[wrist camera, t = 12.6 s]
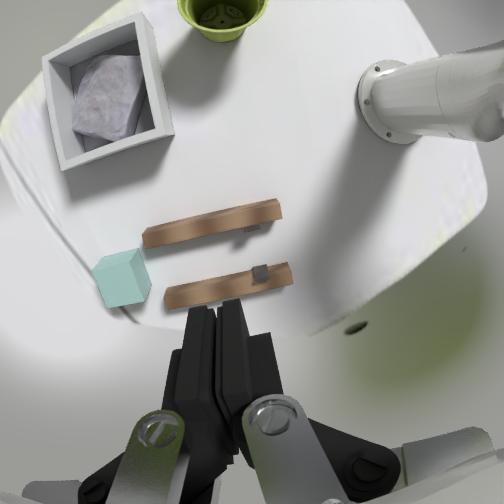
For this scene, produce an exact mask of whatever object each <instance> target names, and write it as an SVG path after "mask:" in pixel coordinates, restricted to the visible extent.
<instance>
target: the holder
mask: <svg viewBox="0 0 504 504" xmlns="http://www.w3.org/2000/svg"><path fill="white" fill-rule="evenodd" d="M136 39H138V45H139V50H140V56H141V62H142V67H143V72H144V77H145V82H146V88H147V92H148V97H149V102H150V107H151V111H152V116H153V121H154V125H155V129H152V130H149V131H146V132H143V133H140V134H137V135H133V136H130V137H127V138H125V139H122V140H119V141H116V142H113V143H110V144H108V145H105V146H102V147H99V148H97V149H94V150H92V151H89V152H87V153H85V149H84V145H83V141H82V136H81V133H78V132H76V131H74V130H73V129H72V118H73V113H74V111H75V110H74V106H75V101H74V95H73V89H72V83H71V76H70V68H69V67H71V66H73V65H75V64H77V63H79V62H82V61H84V60H86V59H88V58H90V57H93V56H95V55H97V54H99V53H102V52H104V51H107V50H109V49H112V48H114V47H117V46H119V45H122V44H125V43H127V42H130V41H133V40H136ZM42 67H43V76H44V84H45V92H46V99H47V105H48V111H49V117H50V123H51V128H52V133H53V138H54V142H55V147H56V151H57V156H58V160H59V164H60V168H61V171H65V170H68V169H71V168H75V167H78V166H82V165H84V164H87V163H89V162H92V161H95V160H97V159H100V158H103V157H106V156H108V155H111V154H114V153H117V152H120V151H123V150H126V149H129V148H132V147H135V146H138V145H141V144H144V143H148V142H151V141H154V140H158V139H161V138H165V137H168V136H172V135H175V132H174V128H173V123H172V119H171V114H170V110H169V105H168V100H167V96H166V91H165V86H164V81H163V76H162V71H161V66H160V61H159V56H158V51H157V45H156V40H155V34H154V29H153V26H152V25H151V24H150V22H149V21H148V20H147V18H146V17H145V16H144V14H143V13H142V12H141V13H138V14H135V15H132V16H130V17H127V18H124V19H121V20H119V21H116V22H114V23H111V24H109V25H106V26H104V27H102V28H99V29H97V30H95V31H92V32H90V33H88V34H86V35H84V36H81V37H79V38H77V39H75V40H73V41H71V42H69V43H67V44H65V45H63V46H62V47H60V48H58V49H56V50H54V51H52V52H51V53H49V54H47V55H45V56H44V57H42Z"/></svg>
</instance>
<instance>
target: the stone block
mask: <svg viewBox="0 0 504 504" xmlns="http://www.w3.org/2000/svg"><path fill="white" fill-rule="evenodd" d="M146 89H147V88H146V82H145V77H144V72H143V67H142V62H141V56H140V55H138V56H133V55H132V56H121V55H100V56H98V57H97V58H96V59H95V60H92V61H91V63H90V64H89V65H88V66H87V68H86V72H85V76H84V77H83V79H82V81H81V83H80V86H79V90H78V96H77V98H76V101H75V106H74V110H75V111H74V113H73V118H72V129H73V130H74V131H76V132H78V133H81V134H84V135H86V136H90V137H92V138H95V139H107V140H111V141H113V142H116V141H119V140H122V139H125V138H127V137H130V136H133V135H134V133H135V129H136V125H137V121H138V117H139V113H140V110H141V106H142V102H143V99H144V96H145V92H146Z"/></svg>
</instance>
